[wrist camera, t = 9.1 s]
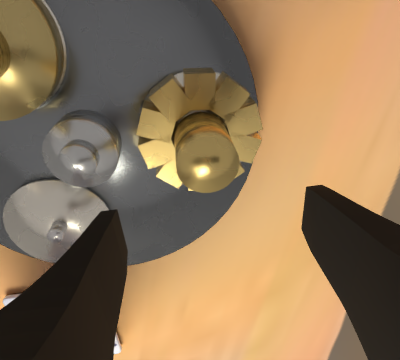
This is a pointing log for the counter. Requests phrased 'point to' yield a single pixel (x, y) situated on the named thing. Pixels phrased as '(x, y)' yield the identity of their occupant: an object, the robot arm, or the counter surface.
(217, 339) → the counter surface
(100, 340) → the robot arm
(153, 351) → the counter surface
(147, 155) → the planet gear
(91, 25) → the carrier
